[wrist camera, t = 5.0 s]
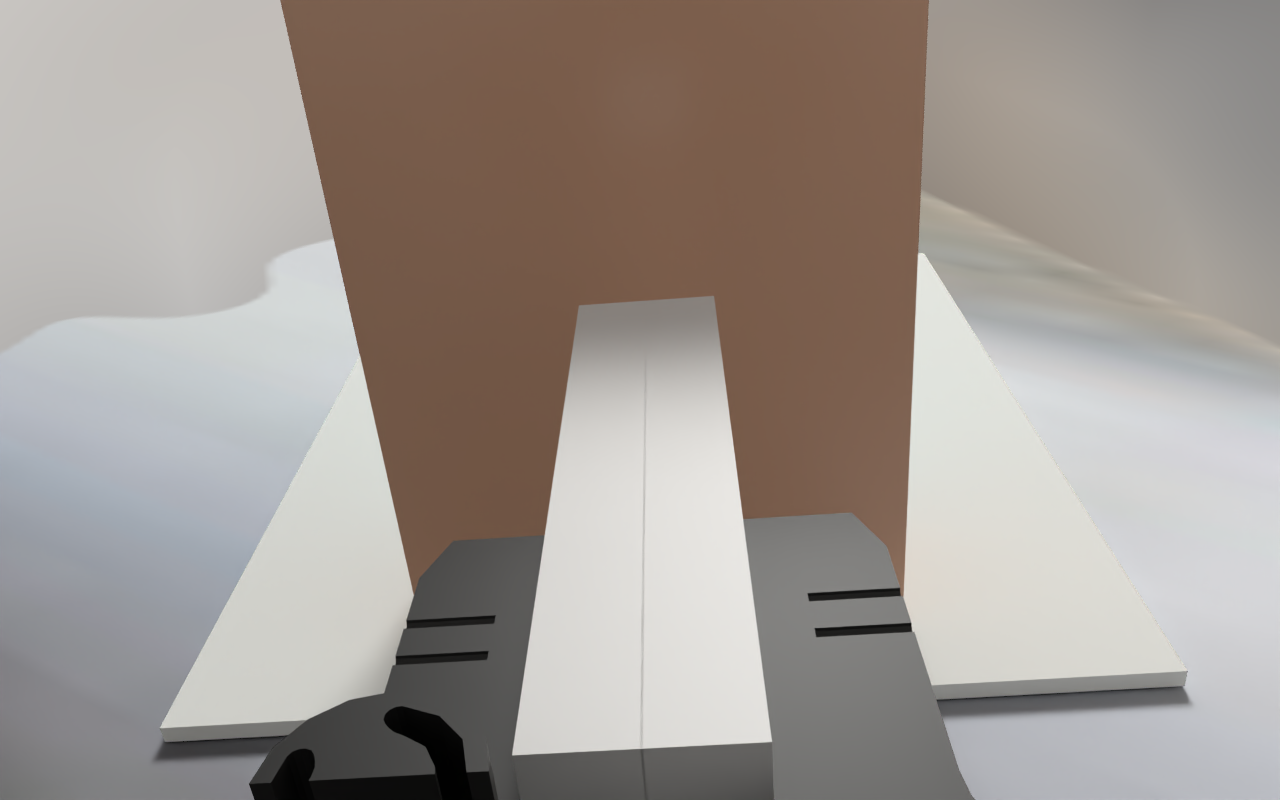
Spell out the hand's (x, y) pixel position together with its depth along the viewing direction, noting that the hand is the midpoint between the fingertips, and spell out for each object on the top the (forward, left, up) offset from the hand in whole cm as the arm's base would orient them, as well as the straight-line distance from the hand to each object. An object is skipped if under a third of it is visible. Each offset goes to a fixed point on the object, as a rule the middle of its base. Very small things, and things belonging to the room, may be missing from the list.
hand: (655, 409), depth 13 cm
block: (0, +5, -6) cm, 8 cm away
